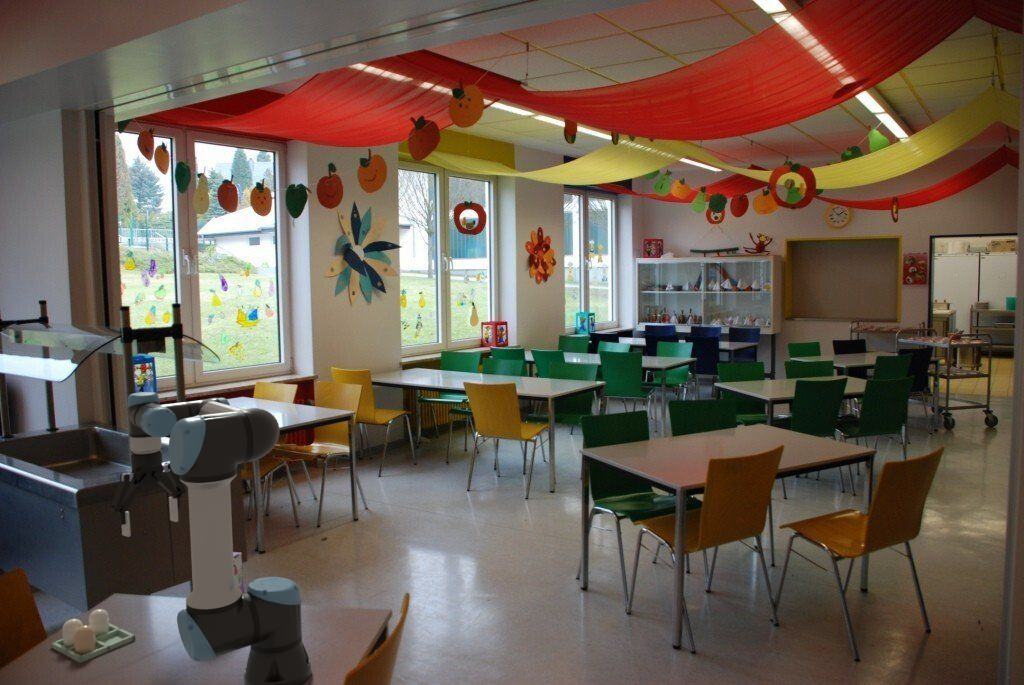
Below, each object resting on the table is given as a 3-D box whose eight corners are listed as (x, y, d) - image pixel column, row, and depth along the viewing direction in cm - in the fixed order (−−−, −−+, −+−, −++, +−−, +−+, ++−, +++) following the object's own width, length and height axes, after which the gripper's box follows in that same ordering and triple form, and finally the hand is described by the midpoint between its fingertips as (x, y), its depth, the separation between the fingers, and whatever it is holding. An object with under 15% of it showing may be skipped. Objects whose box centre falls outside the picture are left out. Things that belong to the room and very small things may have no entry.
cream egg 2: (113, 633, 205) (111, 608, 204) (95, 640, 201) (93, 615, 200) (103, 629, 207) (102, 604, 206) (86, 636, 203) (84, 610, 203)
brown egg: (99, 651, 195) (97, 624, 195) (81, 658, 192) (79, 632, 191) (89, 646, 198) (88, 620, 197) (71, 653, 194) (69, 627, 193)
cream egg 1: (87, 644, 199) (86, 618, 198) (69, 651, 195) (67, 625, 195) (78, 639, 202) (76, 613, 201) (60, 646, 198) (58, 620, 197)
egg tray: (135, 641, 201) (134, 635, 201) (80, 665, 190) (79, 658, 190) (106, 627, 209) (105, 621, 209) (51, 649, 198) (51, 642, 197)
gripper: (180, 439, 219) (184, 512, 221) (91, 458, 198) (97, 539, 201) (196, 442, 215) (200, 517, 217) (107, 462, 194) (112, 545, 196)
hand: (151, 528), depth 209 cm, fingers open, 13 cm apart
